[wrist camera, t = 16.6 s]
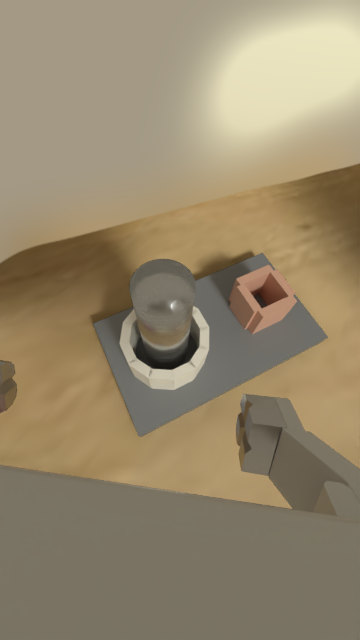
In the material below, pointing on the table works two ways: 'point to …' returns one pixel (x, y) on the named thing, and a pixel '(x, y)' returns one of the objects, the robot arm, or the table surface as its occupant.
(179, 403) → the holder board
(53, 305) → the table surface
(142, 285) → the metal peg
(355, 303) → the table surface
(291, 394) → the table surface
